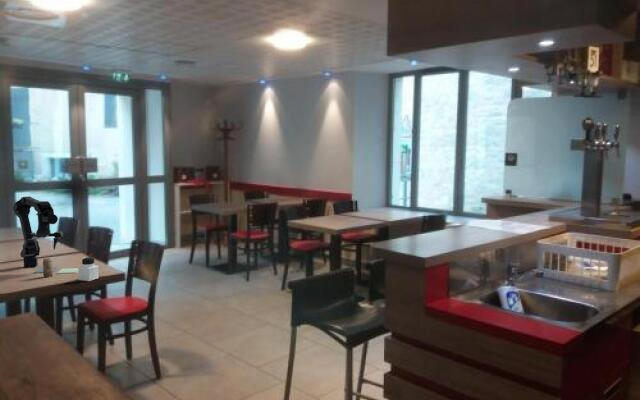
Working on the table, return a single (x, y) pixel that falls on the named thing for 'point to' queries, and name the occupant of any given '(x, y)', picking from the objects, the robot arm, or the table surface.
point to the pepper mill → (47, 267)
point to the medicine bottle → (88, 270)
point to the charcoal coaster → (42, 270)
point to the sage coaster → (68, 271)
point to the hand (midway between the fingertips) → (45, 250)
